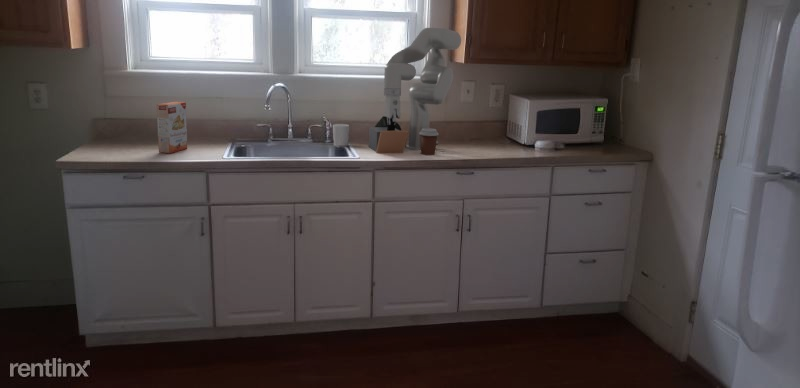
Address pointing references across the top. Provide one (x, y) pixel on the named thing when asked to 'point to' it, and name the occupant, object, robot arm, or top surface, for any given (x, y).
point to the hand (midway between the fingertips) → (390, 133)
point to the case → (375, 136)
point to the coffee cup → (428, 141)
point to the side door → (391, 141)
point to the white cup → (340, 134)
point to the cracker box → (172, 127)
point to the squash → (383, 123)
